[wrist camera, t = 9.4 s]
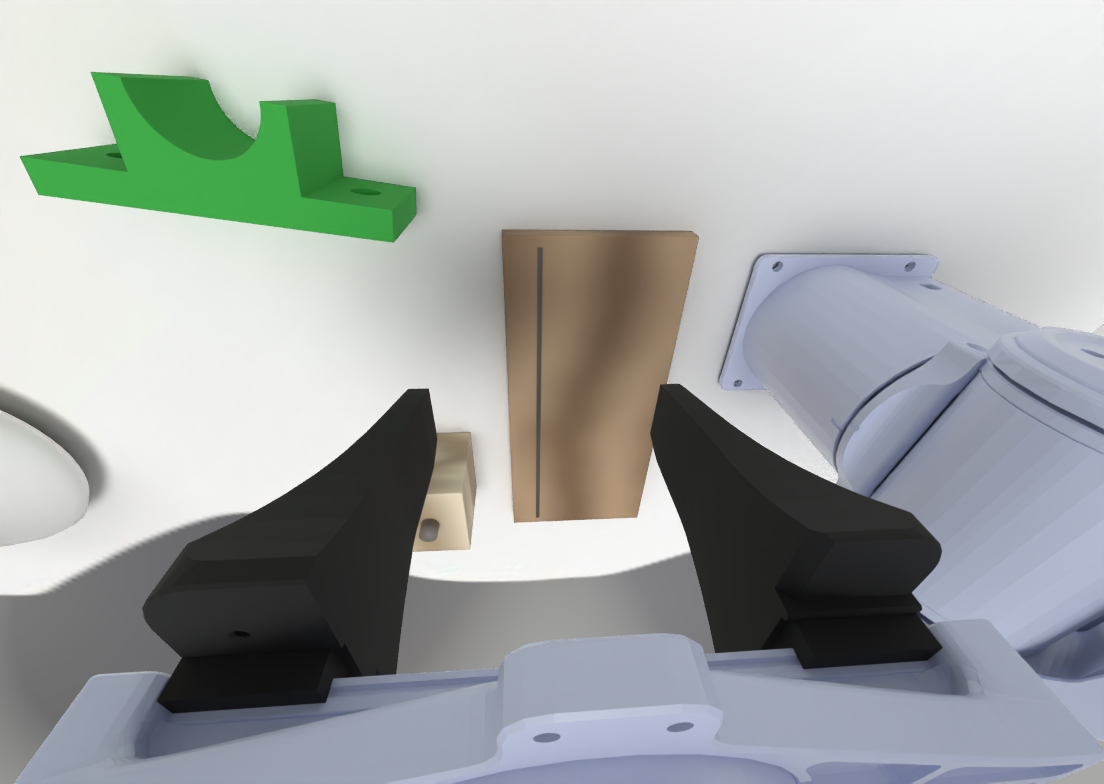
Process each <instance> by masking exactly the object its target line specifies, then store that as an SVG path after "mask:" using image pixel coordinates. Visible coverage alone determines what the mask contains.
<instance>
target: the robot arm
mask: <svg viewBox="0 0 1104 784" xmlns="http://www.w3.org/2000/svg"><path fill="white" fill-rule="evenodd" d="M778 261H779V264H778V266H777V267H776V268H775V269H772V267H773V265H774V264H775V263H776V262H778ZM908 263H909V265H908V266H907V267H906V268H905V266H906V265H907V264H908ZM937 265H938V259H937V258H936V257H934V256H931V255H851V254H766V255H763V256H761V257H760V258H759V259H758V260H757V261H756V263H755V266H754V269H753V272H752V276H751V279H750V282H749V285H748V289H747V292H746V295H745V298H744V302H743V305H742V308H741V311H740V315H739V318H738V321H737V324H736V328H735V331H734V334H733V337H732V341H731V344H730V347H729V350H728V354H727V357H726V360H725V364H724V367H723V370H722V373H721V377H720V380H719V384H720V386H721V387H722V388H723V389H724V390H759V389H767V390H768V391H769V393H770V394H771V395H772V396H773V397H774V398H775V400H776V401H777V402H778V403H779V404H780V406H781V407H782V408H783V409H784V410H785V411H786V413H787V414H788V415H789V416H790V417H791V419H792V420H793V421H794V422H795V423H796V425H797V426H798V427H799V428H800V429H801V430H802V432H803V433H804V434H805V435H806V436H807V438H808V439H809V440H810V441H811V442H812V443H813V445H814V446H815V447H816V448H817V449H818V451H819V452H820V453H821V454H822V455H823V456H824V458H825V459H826V460H827V461H828V462H829V464H830V465H831V466H832V467H833V468H834V469H835V471H836V472H837V473H838V474H839V477H838V481H837V484H834V483H832V482H830V481H828V480H825V479H823V478H821V477H819V476H817V475H815V474H813V473H811V472H809V471H807V470H805V469H803V468H801V467H799V466H797V465H795V464H793V463H791V462H789V461H787V460H786V459H784V458H782V457H780V456H779V455H777V454H775V453H774V452H772V451H770V450H769V449H767V448H765V447H764V446H762V445H760V444H759V443H757V442H756V441H754V440H753V439H751V438H750V437H748V436H747V435H746V434H744V433H743V432H741V431H740V430H738V429H737V428H736V427H734V426H733V425H731V424H730V423H729V422H727V421H726V420H725V419H723V418H722V417H721V416H720V415H718V414H717V413H716V412H714V411H713V410H712V409H711V408H709V407H708V406H707V405H706V404H704V403H703V402H702V401H701V400H699V399H698V398H697V397H696V396H694V395H693V394H692V393H691V392H689V391H688V390H687V389H686V388H684V387H683V386H682V385H680V384H660V389H659V393H658V398H657V403H656V408H655V412H654V417H653V422H652V427H651V431H650V436H651V440H652V444H653V448H654V452H655V456H656V460H657V463H658V465H659V468H660V470H661V473H662V475H663V478H664V480H665V483H666V485H667V487H668V490H669V492H670V495H671V497H672V500H673V502H674V504H675V507H676V509H677V512H678V514H679V517H680V519H681V522H682V525H683V527H684V530H685V533H686V536H687V540H688V543H689V547H690V550H691V554H692V557H693V561H694V565H695V568H696V572H697V576H698V579H699V583H700V587H701V591H702V595H703V600H704V604H705V608H706V612H707V617H708V621H709V625H710V630H711V635H712V639H713V644H714V649H715V653H712V654H704V652H703V649H702V646H701V645H700V644H698V643H696V642H695V641H693V640H691V639H689V638H687V637H685V636H683V635H678V634H663V633H658V634H641V635H624V636H610V637H609V636H608V637H594V638H593V637H592V638H576V639H561V640H547V641H543V642H537V643H531V644H526V645H524V646H522V647H520V648H518V649H516V650H515V651H513V652H511V653H509V654H508V655H507V656H506V657H505V658H504V660H503V662H502V664H501V666H500V668H486V669H471V670H457V671H441V672H426V673H411V674H396V669H397V661H398V651H399V643H400V634H401V627H402V619H403V610H404V604H405V596H406V590H407V583H408V576H409V570H410V564H411V558H412V551H413V545H414V541H415V536H416V532H417V528H418V524H419V521H420V517H421V513H422V510H423V506H424V502H425V499H426V495H427V492H428V488H429V484H430V480H431V477H432V473H433V469H434V463H435V456H436V448H437V440H438V439H437V433H436V428H435V422H434V416H433V411H432V405H431V399H430V393H429V389H408V390H407V391H406V392H405V393H404V394H403V395H402V396H401V397H400V398H399V399H398V400H397V401H396V402H395V403H394V404H393V405H392V406H391V408H390V409H389V410H388V411H387V412H386V413H385V414H384V415H383V416H382V417H381V418H380V419H379V420H378V421H377V422H376V423H375V424H374V425H373V426H372V427H371V428H370V429H369V430H368V431H367V432H366V433H365V434H364V435H363V436H362V437H361V438H359V439H358V440H357V441H356V442H355V443H354V444H353V445H352V446H351V447H350V448H348V449H347V450H346V451H345V452H344V453H342V454H341V455H340V456H339V457H338V458H336V459H335V460H334V461H332V462H331V463H330V464H328V465H327V466H326V467H324V468H323V469H322V470H320V471H319V472H318V473H316V474H315V475H313V476H312V477H310V478H309V479H307V480H306V481H304V482H303V483H301V484H300V485H298V486H297V487H295V488H294V489H292V490H290V491H289V492H287V493H286V494H284V495H283V496H281V497H279V498H278V499H276V500H274V501H272V502H271V503H269V504H267V505H265V506H264V507H262V508H260V509H258V510H256V511H254V512H253V513H251V514H249V515H247V516H245V517H243V518H241V519H239V520H238V521H235V522H234V523H232V524H229V525H227V526H225V527H223V528H221V529H219V530H217V531H214V532H212V533H210V534H208V535H206V536H204V537H202V538H200V539H198V540H195V541H193V542H191V543H188V544H187V545H186V547H185V548H184V549H183V550H182V552H181V553H180V554H179V556H178V557H177V559H176V560H175V561H174V563H173V564H172V565H171V567H170V568H169V569H168V571H167V572H166V574H165V575H164V576H163V578H162V579H161V581H160V582H159V583H158V585H157V586H156V587H155V589H154V590H153V591H152V593H151V594H150V596H149V597H148V598H147V600H146V602H145V604H144V606H143V608H142V609H143V614H144V619H145V621H146V622H147V624H148V625H149V626H150V627H151V629H152V630H153V631H154V632H155V633H156V634H157V635H158V636H159V637H160V638H161V639H163V640H164V641H165V642H166V643H167V644H168V645H169V646H170V647H171V648H172V649H173V650H174V651H175V652H176V653H178V654H179V655H180V656H181V657H182V659H181V660H180V662H179V664H178V665H177V667H176V669H175V671H174V672H173V674H172V676H171V675H169V674H167V673H162V672H154V671H153V672H152V671H146V672H130V673H115V674H99V675H96V676H93V677H91V678H90V679H89V681H88V682H87V683H86V685H85V686H84V687H83V689H82V690H81V692H80V693H79V694H78V696H77V697H76V699H75V700H74V701H73V703H72V704H71V705H70V707H69V708H68V709H67V711H66V712H65V714H64V715H63V716H62V718H61V719H60V720H59V722H58V723H57V725H56V726H55V727H54V729H53V730H52V732H51V733H50V734H49V736H48V737H47V739H46V740H45V741H44V743H43V744H42V745H41V747H40V748H39V749H38V751H37V752H36V754H35V755H34V756H33V758H32V759H31V760H30V762H29V763H28V765H27V766H26V767H25V769H24V770H23V771H22V773H21V774H20V776H19V777H18V778H17V780H16V781H15V782H14V784H1047V783H1050V782H1052V781H1055V780H1057V779H1060V778H1062V777H1065V776H1067V775H1070V774H1073V773H1075V772H1078V771H1080V770H1083V769H1085V768H1088V767H1091V766H1093V765H1095V764H1098V763H1101V762H1103V761H1104V749H1103V747H1102V746H1101V745H1100V744H1099V743H1098V742H1097V741H1096V740H1100V741H1103V742H1104V337H1103V336H1099V335H1095V334H1091V333H1086V332H1081V331H1076V330H1071V329H1065V328H1056V327H1044V328H1039V327H1038V326H1036V325H1034V324H1032V323H1030V322H1028V321H1026V320H1023V319H1021V318H1019V317H1017V316H1014V315H1012V314H1010V313H1008V312H1005V311H1003V310H1001V309H999V308H997V307H994V306H992V305H990V304H988V303H985V302H983V301H981V300H979V299H976V298H974V297H972V296H970V295H967V294H965V293H963V292H961V291H958V290H956V289H954V288H952V287H950V286H947V285H945V284H943V283H941V282H938V281H936V280H934V279H932V278H931V276H932V274H933V273H934V271H935V269H936V267H937ZM737 380H739V381H738V382H737V383H734V382H735V381H737ZM1095 739H1096V740H1095Z"/></svg>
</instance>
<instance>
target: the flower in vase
mask: <svg viewBox="0 0 1104 784" xmlns="http://www.w3.org/2000/svg"><path fill="white" fill-rule="evenodd" d="M88 506H89V485H88V481H87V479H86V476H85V474H84V472H83V471H82V469H81V468H80V466H79V465H78V464H77V462H76V461H75V460H74V459H73V458H72V456H71V455H69V454H68V453H67V452H66V451H65V450H64V449H63V448H62V447H61V446H60V445H58V444H57V443H56V442H54V441H53V440H52V439H51V438H49V437H48V436H46V435H45V434H43V433H42V432H40V431H39V430H37V429H36V428H34V427H32V426H31V425H29V424H27V423H25V422H24V421H22V420H20V419H18V418H16V417H14V416H12V415H10V414H8V413H6V412H3V411H1V410H0V547H1V546H9V545H14V544H19V543H24V542H29V541H34V540H39V539H43V538H46V537H49V536H52V535H54V534H56V533H58V532H60V531H62V530H64V529H66V528H68V527H70V526H72V525H74V524H75V523H77V522H78V521H79V520H80V519H82V518H83V516H84V515H85V513H86V511H87V508H88Z"/></svg>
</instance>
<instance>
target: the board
mask: <svg viewBox="0 0 1104 784" xmlns="http://www.w3.org/2000/svg"><path fill="white" fill-rule="evenodd" d="M698 240H699V237H698V236H697V235H696V234H695V233H693V232H692V231H599V230H502V251H503V275H504V298H505V322H506V346H507V370H508V393H509V417H510V441H511V465H512V488H513V512H514V523H515V522H539V521H563V520H587V519H611V518H635V517H637V515H638V511H639V506H640V502H641V497H642V493H643V488H644V484H645V479H646V475H647V470H648V466H649V461H650V457H651V452H652V448H653V444H652V440H651V436H650V431H651V427H652V422H653V417H654V412H655V408H656V403H657V398H658V393H659V389H660V384H667V380H668V375H669V371H670V366H671V362H672V357H673V353H674V348H675V344H676V339H677V335H678V330H679V326H680V321H681V317H682V312H683V307H684V303H685V298H686V294H687V289H688V285H689V280H690V276H691V271H692V267H693V262H694V258H695V253H696V249H697V244H698Z"/></svg>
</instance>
